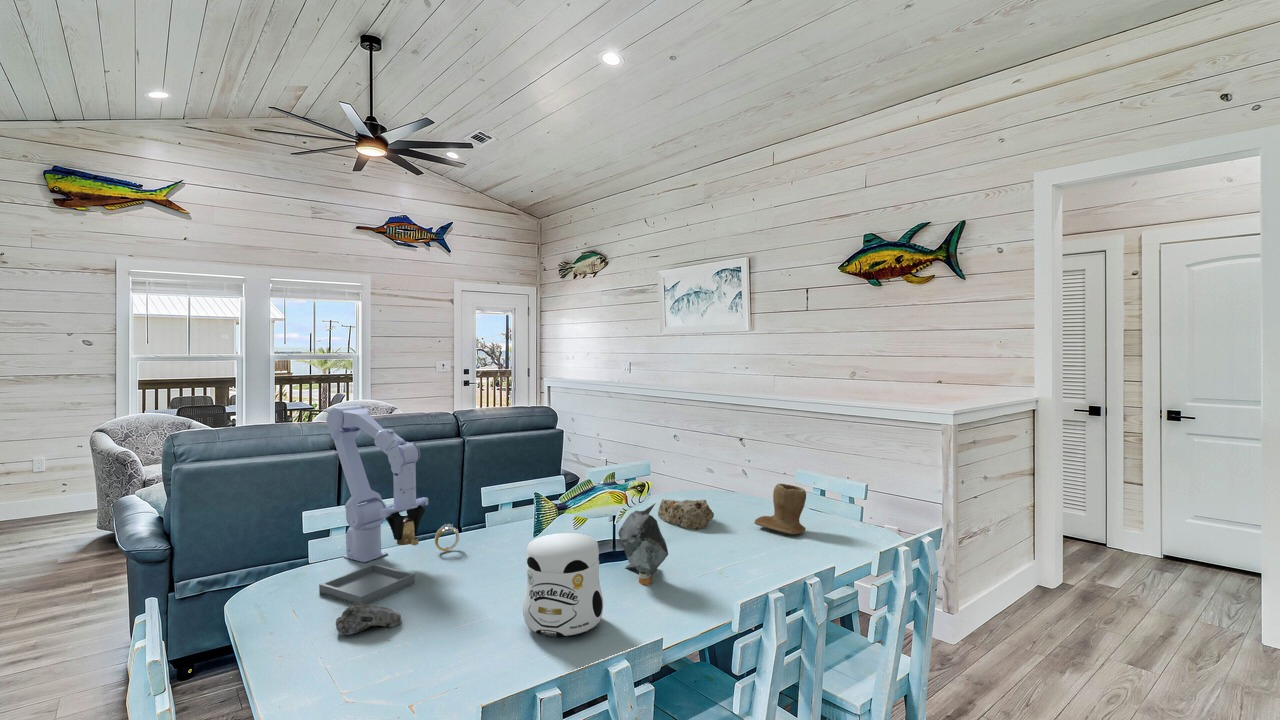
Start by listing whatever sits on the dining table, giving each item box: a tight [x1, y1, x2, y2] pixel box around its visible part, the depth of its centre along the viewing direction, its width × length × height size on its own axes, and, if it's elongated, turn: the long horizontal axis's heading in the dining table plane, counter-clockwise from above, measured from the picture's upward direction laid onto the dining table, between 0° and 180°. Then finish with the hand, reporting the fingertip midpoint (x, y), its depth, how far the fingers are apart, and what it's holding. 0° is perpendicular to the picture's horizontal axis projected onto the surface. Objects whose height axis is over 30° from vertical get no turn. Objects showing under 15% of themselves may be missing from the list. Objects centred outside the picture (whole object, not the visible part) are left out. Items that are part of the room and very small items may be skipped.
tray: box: [318, 563, 416, 605], centre depth 152 cm, size 16×16×2 cm
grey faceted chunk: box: [618, 502, 669, 586], centre depth 157 cm, size 14×15×18 cm
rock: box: [657, 498, 715, 531], centre depth 207 cm, size 20×14×10 cm
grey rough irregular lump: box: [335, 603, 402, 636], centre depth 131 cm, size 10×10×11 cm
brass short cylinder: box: [396, 517, 419, 546], centre depth 166 cm, size 7×5×6 cm
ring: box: [434, 523, 460, 552], centre depth 178 cm, size 7×3×8 cm, turn 121°
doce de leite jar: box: [522, 532, 604, 639], centre depth 131 cm, size 17×17×18 cm
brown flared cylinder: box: [753, 483, 807, 535], centre depth 197 cm, size 15×12×15 cm
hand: (405, 536), depth 166 cm, fingers closed on brass short cylinder, 5 cm apart
